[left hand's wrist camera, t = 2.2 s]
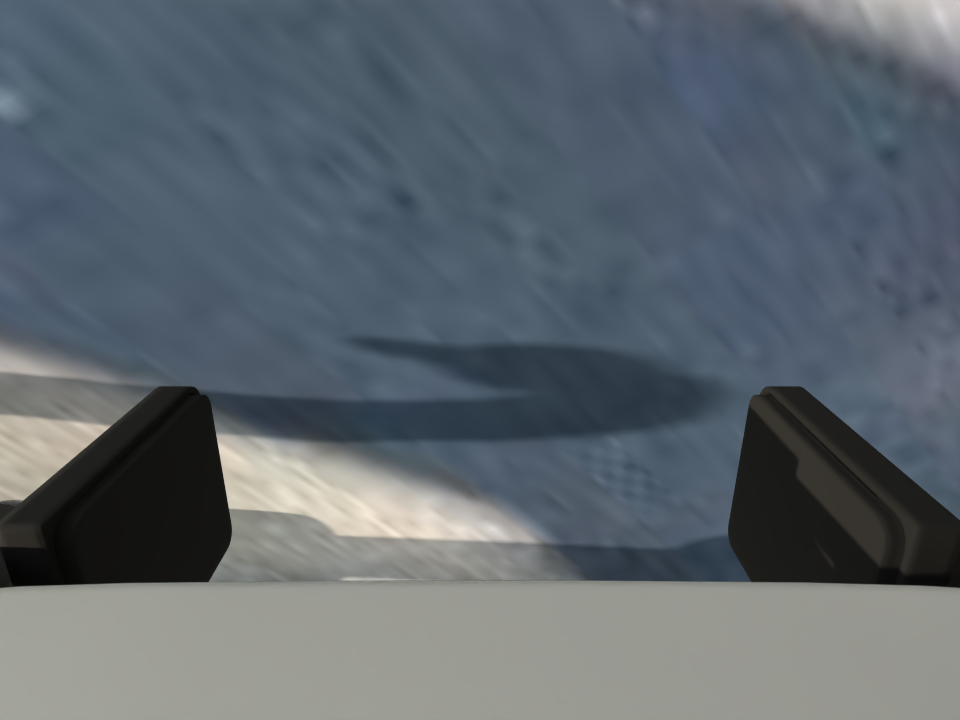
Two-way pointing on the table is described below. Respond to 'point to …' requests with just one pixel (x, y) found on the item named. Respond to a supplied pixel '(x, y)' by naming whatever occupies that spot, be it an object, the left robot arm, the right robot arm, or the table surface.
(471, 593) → the left robot arm
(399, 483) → the table surface
